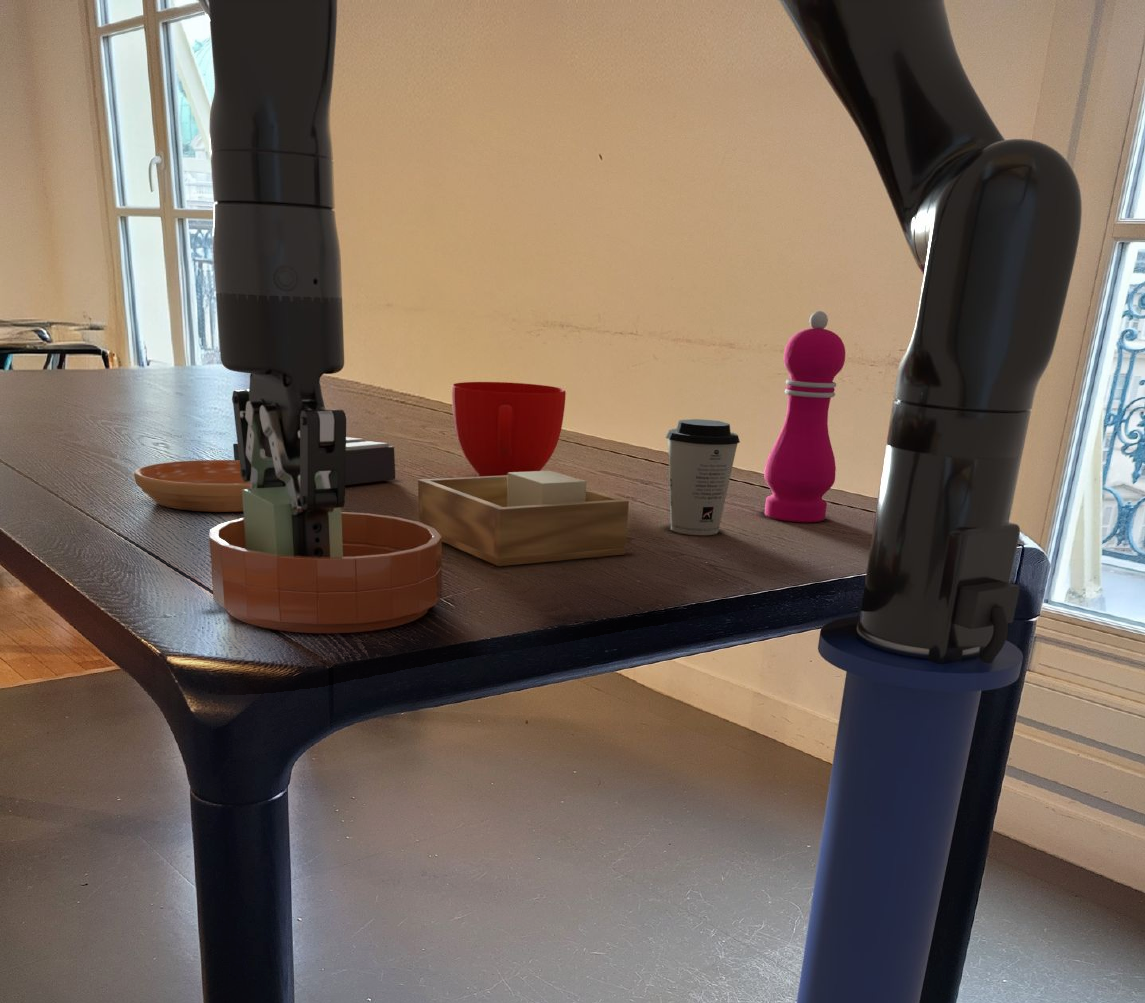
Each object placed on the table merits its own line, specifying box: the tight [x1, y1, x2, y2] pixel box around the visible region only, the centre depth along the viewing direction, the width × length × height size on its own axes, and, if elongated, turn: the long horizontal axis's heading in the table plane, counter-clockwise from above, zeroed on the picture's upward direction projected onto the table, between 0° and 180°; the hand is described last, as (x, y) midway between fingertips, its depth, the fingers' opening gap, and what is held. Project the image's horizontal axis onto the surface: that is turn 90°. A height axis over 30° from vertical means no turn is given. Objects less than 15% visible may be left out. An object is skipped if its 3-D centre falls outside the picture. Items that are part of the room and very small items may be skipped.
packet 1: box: [242, 487, 343, 557], centre depth 76 cm, size 6×4×5 cm
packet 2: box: [507, 470, 587, 507], centre depth 101 cm, size 6×4×5 cm
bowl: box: [208, 511, 443, 635], centre depth 78 cm, size 15×15×5 cm
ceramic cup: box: [451, 381, 567, 477], centre depth 130 cm, size 13×17×10 cm
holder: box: [417, 475, 629, 567], centre depth 100 cm, size 15×13×5 cm
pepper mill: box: [763, 310, 846, 523], centre depth 116 cm, size 7×7×20 cm
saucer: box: [133, 459, 300, 513], centre depth 111 cm, size 16×16×3 cm
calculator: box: [232, 436, 396, 489], centre depth 127 cm, size 11×4×15 cm
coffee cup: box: [665, 418, 741, 536], centre depth 108 cm, size 7×7×10 cm
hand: (293, 560), depth 76 cm, fingers closed on packet 1, 6 cm apart
